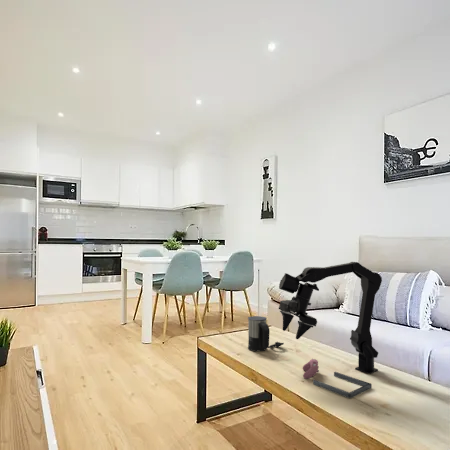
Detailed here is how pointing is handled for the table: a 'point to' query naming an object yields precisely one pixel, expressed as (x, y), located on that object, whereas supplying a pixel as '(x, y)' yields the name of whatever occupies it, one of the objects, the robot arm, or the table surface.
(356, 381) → the metal bay
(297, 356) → the table surface
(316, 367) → the video game controller
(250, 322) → the milk frother
